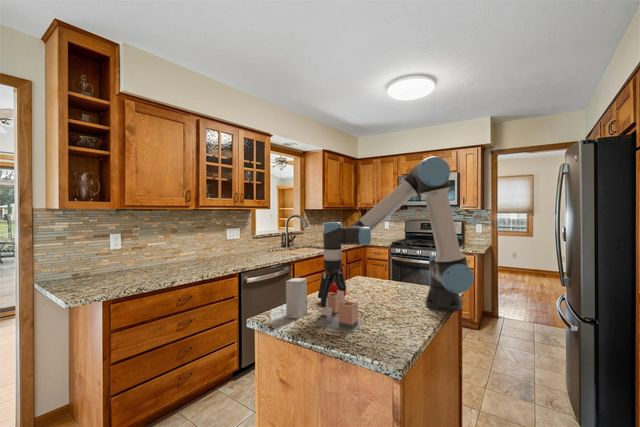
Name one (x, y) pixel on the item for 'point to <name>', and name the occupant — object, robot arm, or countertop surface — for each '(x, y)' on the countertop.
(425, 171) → the robot arm
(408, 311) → the countertop surface
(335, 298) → the sleeve free
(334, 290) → the tomato
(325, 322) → the pin board
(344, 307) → the sleeve seated
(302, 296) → the skincare box
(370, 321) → the countertop surface
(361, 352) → the countertop surface
